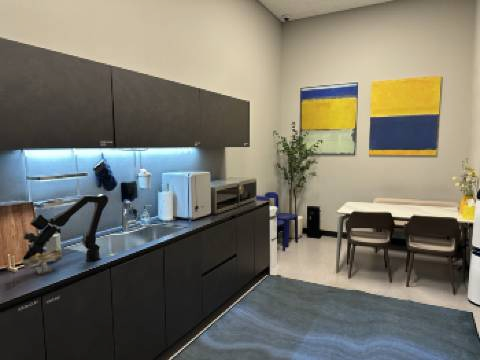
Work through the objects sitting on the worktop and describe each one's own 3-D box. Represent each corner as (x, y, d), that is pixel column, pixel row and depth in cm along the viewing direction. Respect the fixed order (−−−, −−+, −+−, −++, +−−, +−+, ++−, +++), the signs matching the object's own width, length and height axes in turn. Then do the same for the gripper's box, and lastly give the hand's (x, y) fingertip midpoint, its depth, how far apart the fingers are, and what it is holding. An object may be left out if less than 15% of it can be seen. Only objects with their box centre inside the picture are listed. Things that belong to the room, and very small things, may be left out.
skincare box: (58, 261, 199) (56, 236, 198) (46, 262, 198) (44, 237, 196) (62, 256, 207) (60, 233, 206) (51, 257, 206) (49, 233, 204)
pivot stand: (50, 266, 190) (49, 256, 189) (53, 271, 181) (52, 260, 181) (35, 269, 186) (34, 258, 185) (38, 274, 177) (37, 263, 177)
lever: (61, 256, 191) (58, 246, 190) (63, 259, 186) (60, 249, 185) (24, 268, 181) (21, 258, 180) (25, 271, 175) (22, 261, 174)
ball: (28, 259, 181) (37, 258, 183) (28, 264, 178) (37, 263, 181) (29, 253, 180) (38, 252, 182) (30, 257, 177) (38, 257, 179)
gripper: (31, 223, 187) (8, 246, 181) (35, 229, 172) (10, 254, 166) (48, 235, 192) (27, 258, 186) (53, 241, 177) (30, 266, 171)
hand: (23, 259), depth 177 cm, fingers closed, pressing on ball
